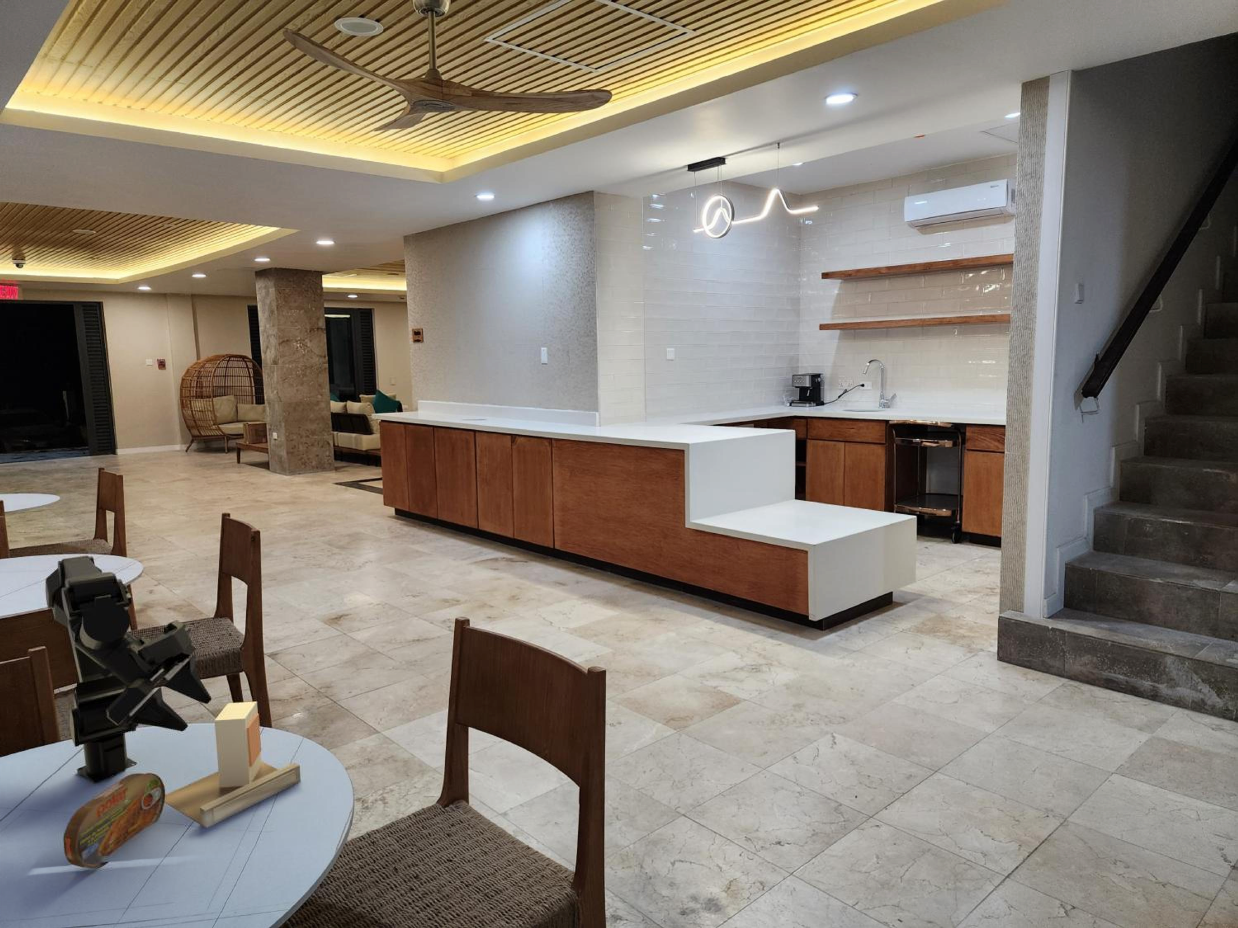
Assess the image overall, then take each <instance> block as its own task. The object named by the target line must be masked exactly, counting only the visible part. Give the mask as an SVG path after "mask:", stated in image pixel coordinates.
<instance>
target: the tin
mask: <svg viewBox="0 0 1238 928" xmlns="http://www.w3.org/2000/svg"><path fill="white" fill-rule="evenodd" d="M165 795H166V788H165V784H164V782H163V780H162V778H161V777H160V776H159V775H158V774H156V773H152V772H146V773H139V772H138V773H132V774H129V775H127V776H125V777H123V778H121V779H120V780H119V781H117V782H116V783H114V784H113V785H111V786H110V787H108V788H107V789H105V790H104V791H102V792H101V793H99V794H98V795H96V796H94V798H92V799H91V800H89V801H88V802H86V803H84V804H83V805H82V806H80V807H79V808H78V809H77V810H76V811H75V812H74V814H73V815H72V816H71V818H70V820H69V822H67V825H66V827H65V829H64V833H63V851H64V854H65V858H66V860H67V861H68V863H70V864H71V865H73V866H75V867H80V868H88V869H98V868H99V869H100V868H101V867H103V866H105V865H107V864H108V863H109V861H104V859H106V858H107V857H108V856H110V855H111V854H112V853H113V852H115V851H117V850H118V849H119V848H121V847H122V846H123V845H125V843H127V842H128V841H130V840H131V839H132V838H134V837H135V836H136V835H138V834H139V833H141V832H142V831H143V830H145V828H147V827H149V826H150V825H151V824H154V823H156V822H158V821H159V819H160V817H161V814H162V812H163V809H164V806H165ZM102 861H103V862H102Z"/></svg>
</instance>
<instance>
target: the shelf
mask: <svg viewBox="0 0 1238 928" xmlns="http://www.w3.org/2000/svg"><path fill="white" fill-rule="evenodd" d="M300 767H301V766H300V764H298V763H296V762H292V763H290V764H287V765H285V766H283V767H281V768H279V769H278V768H276V767H274V766H272V765H270V764H268V763H266V762H264V761H262V760H261V767H260V769H259V771H258V772H257V774H256V776H255V777H254V779H253V781H252V782H251V783H250V784H248V785H245V786H234V787H220V783H219V770H218V771H216V772H214V773H211V774H209V775H206V776H205V777H202V778H200V779H198V780H196V781H194V782H191V783H189V784H186V785H184V786H182V787H180V788H178V789H175V790H174V791H172V792H168V793H165V802H164V804H167V805H169V806H170V807H171V808H173V809H175V810H177V811H178V812H180V813H182V814H183V815H185V816H186V817H188V818H190V819H192V821H195V822H196V823H197V824H199V825H201V826H203V827H205V828H206V829H207V828H209V827H212V826H214V825H215V824H217V823H220V822H222V821H224V820H225V819H226V820H227V819H228V818H229V817H231V816H234V815H236V814H238V813H240V812H241V811H244V810H245V809H248V808H250V807H252V806H253V805H256V804H258V803H260V802H261V801H263V800H265V799H268V798H269V797H272V796H274V795H275V794H277V793H280V792H282V791H283V790H285V789H287V788H290V787H291V786H294V785H295V784H297V783H300V782H301V768H300Z"/></svg>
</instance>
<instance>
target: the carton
mask: <svg viewBox="0 0 1238 928" xmlns="http://www.w3.org/2000/svg"><path fill="white" fill-rule="evenodd" d="M258 712H259V711H258V701H247V702H246V701H245V702H228V703H227V704H226V705H225V707H223V709H222V710H221V712H220V713H219V714H218V715H217V716H216V718H215V719H214V729H215V730H214V732H215V743H216V744H215V745H216V756H217V757H216V758H217V767H218V771H219V783H220V787H234V786H245V785H248V784H250V783H251V782H252V781H253V779H254V777H255V776H256V774H257V772H258V771H259V769H260V767H261V761H262V757H261V756H262V753H261V752H262V743H261V742H262V741H261V730H260V729H261V728H260V713H258Z"/></svg>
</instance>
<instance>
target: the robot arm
mask: <svg viewBox="0 0 1238 928" xmlns="http://www.w3.org/2000/svg"><path fill="white" fill-rule="evenodd" d="M44 585H45V588H44V589H45V601H46V607H47V609H48V610H50V609H52V612H53V613H52V614H53V617H54V621H55V622H57V623H59V624H61V625H63V626H65V627H66V628H67V629H68V634H69V638H70V642H71V643H70V644H71V648H72V652H73V656H74V661H75V665H76V669H77V670H76V671H77V674H78V678H79V682H77V684H76V686H75V688H74V689H75V691H74V693H73V707H74V708H71V709H69V710H70V711H69V730H70V736H71V740H72V743H73V745H74V747H75V748H77V747H80V746H82V745H83V755H84V764H85V765H83V766H81V767H78V768H77V769H76V772H77V774H79V775H80V776H82V777H84V778H85V779H86V780H88V781H90V782H92V783H93V784H97V783H100V782H103V781H105V780H107V779H110V778H112V777H115V776H116V775H117V774H118V773H120V772H123V771H125V770H126V769H129V768H131V767H134V766H136V765H138V764H137V762H136V761H135V760H133V759H131V758H129V757H128V753H127V751H128V750H127V743H126V742H127V741H126V733H131V732H136V731H137V727H138V726H139V725H145V726H153V727H158V728H162V729H163V728H164V729H169V730H172V731H178V732H184V731H186V729H188V727H189V724H188V723H187V722H186V721H185V720H184V719H183V717H181V716H180V715H179V714H178V713H177V712H176V711H175V710H174V709H173V708H172V707H171V706H169V704H167V702H165V701H164V698H163V697H164V696H163V692H162V691H163V690H162V687H161V686H160V687H159V688H158V689H157V690H155V689H156V685H157V684H158V683H159V682H162V683H164V685H163V687H165V688H167V689H170V690H171V691H174V692H177V693H178V694H181V695H184V697H187V698H190V699H192V700H194V701H197V702H200V703H202V704H205V705H208V704H209V703H210V702H211V701H212V700H213V699H212V696H211V695H210V692H209V691H208V690H207V688H206V687H205V685H204V684H203V682H202V680H201V678H200V677H199V674H198V673H197V671H196V665H195V664H196V659H197V654H196V653H194V652H195V651H197V648H196V647H195V646H194V645H192V644H193V643H194V642H193V640H192V638H191V636H190V633H191V630H192V629H191V628H190V626H189V627H188V626H186V624H185V623H182V622H180V621H179V620H178V619H175V620H173V621H171V622H168V623H167V624H166V625H165V626H164V627H163V633H162V634H160V635H158V636H157V637H156V638H153V639H150V638H148V637H147V636H146V635H140V636H139V637H138V638H136V637H134V636H133V634H131V633H130V632H129V631H128V630H129V629H130V626H131V616H130V613H129V611H128V610H129V608H130V606H131V605H132V604H133V603H132V596H131V593H130V592H129V589H128V586H127V585H126V584H124V583H123V580H122V579H121V578H117V575H116V574H115V573H114V572H112V571H108V572H106V571H105V572H103V571H102V569H101V568H99V567H98V566H96V565H95V559H94V557H93V556H92V555H91V556H89V555H82V556H75V557H68V558H62V559H61V560H58V561H57V568H56V569H55V570H54V571H53V572H52V573H51V574H49V575H48V576H47V577H46V578H45V584H44ZM193 654H194V655H193ZM191 656H192V657H191ZM190 657H191V658H190ZM166 680H167V681H166ZM165 681H166V683H165ZM154 690H155V691H154Z"/></svg>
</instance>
